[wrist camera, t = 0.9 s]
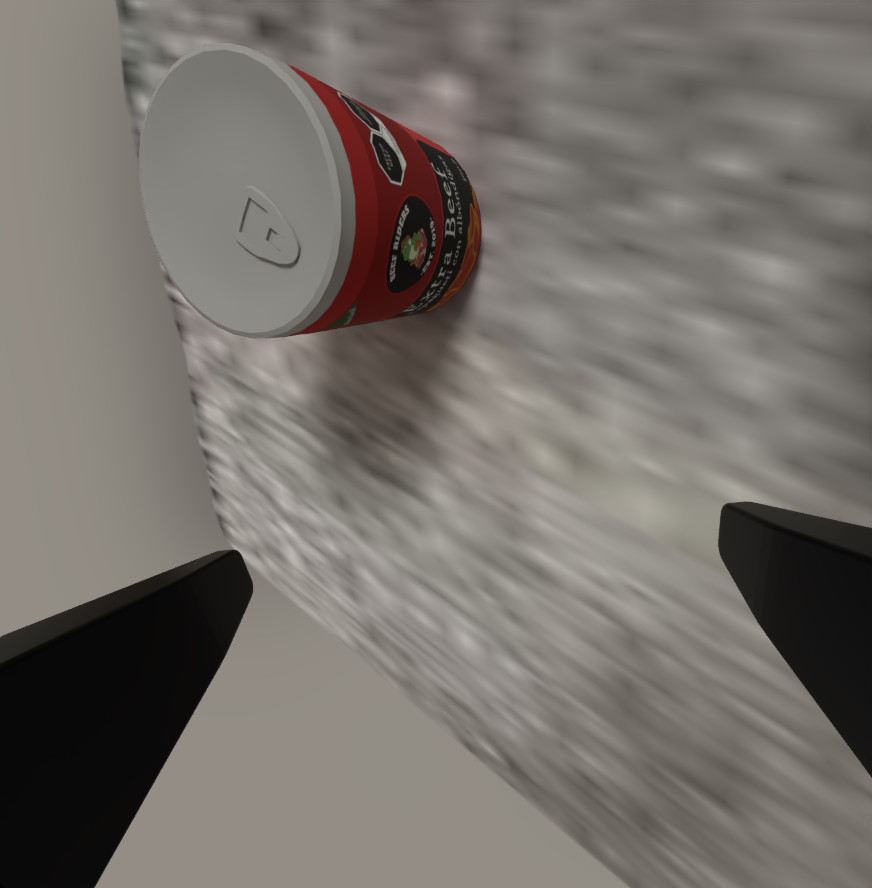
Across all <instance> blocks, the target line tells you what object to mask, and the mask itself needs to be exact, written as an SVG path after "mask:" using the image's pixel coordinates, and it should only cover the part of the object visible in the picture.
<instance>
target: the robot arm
mask: <svg viewBox="0 0 872 888" xmlns="http://www.w3.org/2000/svg"><path fill="white" fill-rule="evenodd" d="M718 548H719V553H720V556H721V558H722V560H723V562H724V564H725V566H726V568H727V569H728V571H729V573H730V575H731V576H732V578H733V580H734V582H735V583H736V585H737V587H738V589H739V590H740V592H741V594H742V596H743V597H744V599H745V601H746V603H747V605H748V606H749V608H750V610H751V612H752V613H753V615H754V617H755V618H756V620H757V622H758V623H759V625H760V626H761V628H762V629H763V631H764V632H765V633H766V635H767V636H768V638H769V639H770V640H771V642H772V643H773V644H774V646H775V647H776V649H777V650H778V651H779V653H780V654H781V655H782V657H783V658H784V659H785V661H786V662H787V663H788V665H789V666H790V667H791V669H792V670H793V672H794V673H795V674H796V676H797V677H798V678H799V680H800V681H801V682H802V684H803V685H804V686H805V688H806V689H807V691H808V692H809V693H810V695H811V696H812V697H813V699H814V700H815V701H816V703H817V704H818V705H819V707H820V708H821V709H822V711H823V712H824V714H825V715H826V716H827V718H828V719H829V720H830V722H831V723H832V724H833V726H834V727H835V728H836V730H837V731H838V732H839V734H840V735H841V737H842V738H843V739H844V741H845V742H846V743H847V745H848V746H849V747H850V749H851V750H852V751H853V753H854V754H855V755H856V757H857V758H858V760H859V761H860V762H861V764H862V765H863V766H864V768H865V769H866V770H867V772H868V773H869V774H870V776H871V777H872V528H869V527H864V526H860V525H855V524H850V523H846V522H841V521H837V520H832V519H827V518H823V517H818V516H814V515H809V514H804V513H800V512H795V511H791V510H786V509H782V508H777V507H772V506H768V505H763V504H759V503H754V502H736V503H727V504H725V505H724V506H723V507H722V510H721V515H720V527H719V539H718ZM252 593H253V583H252V579H251V577H250V575H249V572H248V570H247V567H246V565H245V562H244V560H243V557H242V555H241V554H240V552H238V551H237V550H224V551H217V552H214V553H211V554H209V555H206V556H204V557H201V558H199V559H196V560H194V561H191V562H189V563H186V564H184V565H181V566H178V567H176V568H173V569H171V570H168V571H166V572H163V573H161V574H158V575H155V576H153V577H150V578H148V579H145V580H143V581H140V582H138V583H135V584H133V585H130V586H128V587H125V588H122V589H120V590H117V591H115V592H113V593H110V594H107V595H105V596H102V597H100V598H97V599H95V600H92V601H90V602H87V603H84V604H82V605H79V606H77V607H74V608H72V609H69V610H67V611H64V612H62V613H59V614H56V615H54V616H51V617H49V618H46V619H44V620H41V621H39V622H36V623H34V624H31V625H29V626H26V627H23V628H21V629H18V630H16V631H13V632H11V633H8V634H6V635H3V636H1V637H0V888H94V887H95V886H96V884H97V882H98V881H99V879H100V877H101V875H102V874H103V872H104V870H105V868H106V866H107V865H108V863H109V861H110V859H111V858H112V856H113V854H114V852H115V851H116V849H117V847H118V845H119V844H120V842H121V840H122V838H123V836H124V835H125V833H126V831H127V829H128V828H129V826H130V824H131V822H132V820H133V819H134V817H135V815H136V814H137V812H138V810H139V808H140V806H141V805H142V803H143V801H144V799H145V797H146V796H147V794H148V792H149V790H150V789H151V787H152V785H153V783H154V782H155V780H156V778H157V776H158V775H159V773H160V771H161V769H162V768H163V766H164V764H165V762H166V761H167V759H168V757H169V755H170V753H171V752H172V750H173V748H174V746H175V745H176V743H177V741H178V739H179V738H180V736H181V734H182V732H183V730H184V729H185V727H186V725H187V724H188V722H189V720H190V718H191V716H192V715H193V713H194V711H195V709H196V708H197V706H198V704H199V702H200V701H201V699H202V697H203V695H204V693H205V692H206V690H207V688H208V686H209V685H210V683H211V681H212V679H213V678H214V676H215V674H216V672H217V671H218V669H219V667H220V665H221V663H222V661H223V659H224V658H225V656H226V653H227V651H228V649H229V647H230V645H231V642H232V640H233V638H234V636H235V633H236V631H237V629H238V626H239V624H240V622H241V620H242V618H243V615H244V613H245V611H246V608H247V606H248V604H249V601H250V599H251V597H252Z"/></svg>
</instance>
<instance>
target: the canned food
mask: <svg viewBox="0 0 872 888" xmlns="http://www.w3.org/2000/svg"><path fill="white" fill-rule="evenodd" d="M139 180H140V191H141V196H142V203H143V210H144V214H145V218H146V222H147V225H148V229H149V232H150V236H151V239H152V241H153V244H154V246H155V248H156V251H157V253H158V256H159V258H160V261H161V262H162V264H163V266H164V268H165V270H166V271H167V273H168V275H169V277H170V279H171V280H172V282H173V283H174V285H175V286H176V287H177V289H178V290H179V291H180V293H181V294H182V295H183V297H184V298H185V299H186V300H187V301H188V302H189V303H190V304H191V305H192V306H193V307H194V308H195V309H196V310H197V311H198V312H199V313H200V314H201V315H202V316H203V317H205V318H206V319H207V320H209V321H210V322H212V323H213V324H214V325H216V326H217V327H219V328H221V329H224V330H226V331H228V332H230V333H232V334H235V335H239V336H244V337H249V338H277V337H287V336H293V335H299V334H309V333H315V332H321V331H326V330H332V329H338V328H343V327H349V326H355V325H360V324H366V323H372V322H377V321H383V320H389V319H394V318H400V317H406V316H411V315H417V314H422V313H425V312H428V311H431V310H434V309H436V308H437V307H439V306H441V305H442V304H444V303H446V302H447V301H448V300H449V299H450V298H451V297H452V296H454V295H455V294H456V293H457V292H458V291H459V289H460V288H461V287H462V285H463V284H464V282H465V281H466V280H467V278H468V277H469V275H470V273H471V271H472V269H473V267H474V264H475V262H476V259H477V255H478V252H479V248H480V241H481V218H480V210H479V206H478V203H477V199H476V195H475V193H474V190H473V188H472V186H471V184H470V182H469V179H468V177H467V175H466V173H465V172H464V170H463V169H462V168H461V166H460V165H459V164H458V162H457V161H456V160H455V158H454V157H453V156H452V155H450V154H449V153H448V152H447V151H446V150H445V149H443V148H442V147H441V146H440V145H438V144H436V143H434V142H432V141H430V140H428V139H427V138H425V137H423V136H421V135H419V134H417V133H415V132H414V131H412V130H410V129H408V128H406V127H404V126H402V125H401V124H399V123H397V122H395V121H393V120H391V119H389V118H388V117H386V116H384V115H382V114H380V113H378V112H377V111H375V110H373V109H371V108H369V107H367V106H365V105H364V104H362V103H360V102H358V101H356V100H354V99H352V98H351V97H349V96H347V95H345V94H343V93H341V92H339V91H338V90H336V89H334V88H332V87H330V86H328V85H326V84H325V83H323V82H321V81H319V80H317V79H315V78H314V77H312V76H310V75H308V74H306V73H304V72H302V71H300V70H298V69H297V68H295V67H293V66H290V65H287V64H285V63H283V62H281V61H279V60H278V59H276V58H274V57H272V56H270V55H268V54H266V53H264V52H259V51H255V50H253V49H251V48H249V47H245V46H240V45H235V44H231V43H218V44H209V45H204V46H201V47H199V48H197V49H195V50H193V51H191V52H188V53H186V54H185V55H184V56H183V57H181V58H180V59H179V60H178V61H177V62H176V63H175V64H174V65H172V66H171V67H170V68H169V69H168V71H167V72H166V74H165V75H164V77H163V78H162V80H161V81H160V83H159V84H158V85H157V87H156V89H155V92H154V94H153V96H152V99H151V101H150V103H149V106H148V108H147V111H146V115H145V120H144V124H143V128H142V132H141V140H140V151H139Z"/></svg>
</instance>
